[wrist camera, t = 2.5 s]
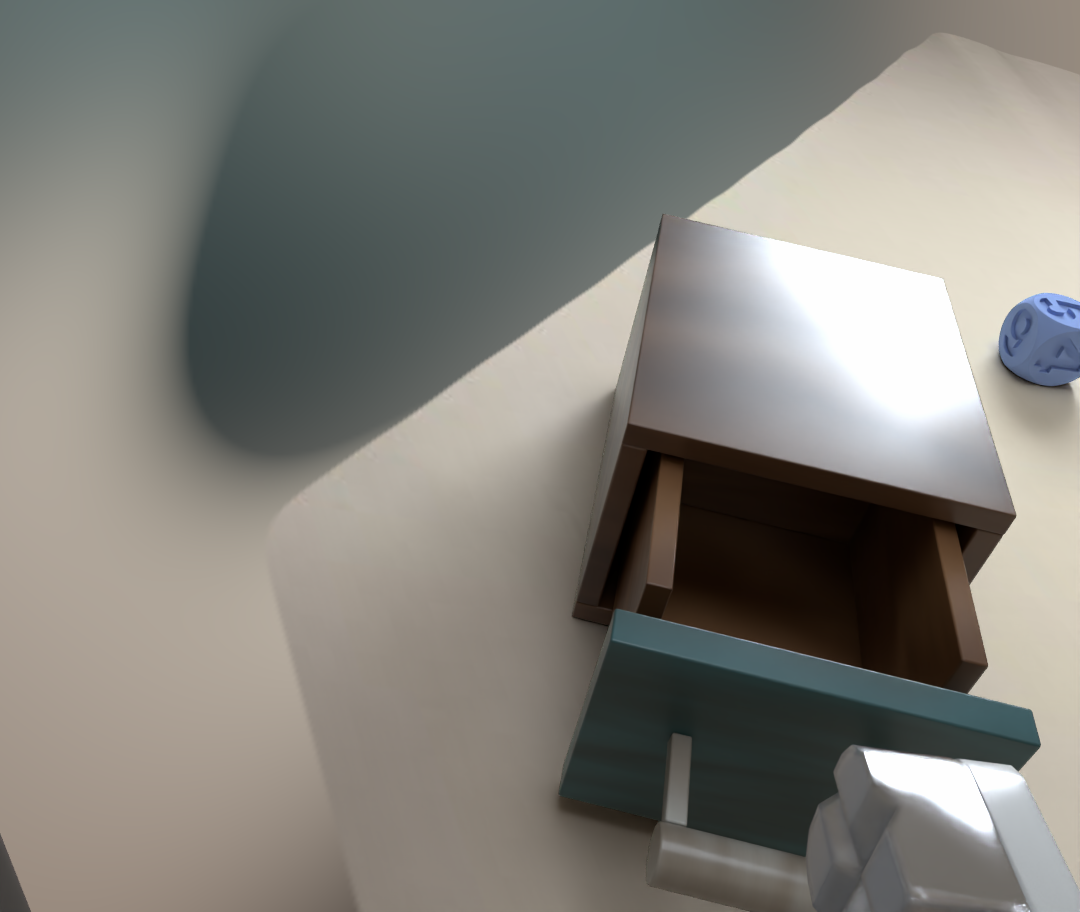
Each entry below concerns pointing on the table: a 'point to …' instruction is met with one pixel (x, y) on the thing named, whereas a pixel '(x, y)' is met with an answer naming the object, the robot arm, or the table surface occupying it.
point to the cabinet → (796, 389)
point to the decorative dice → (1043, 339)
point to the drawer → (772, 672)
